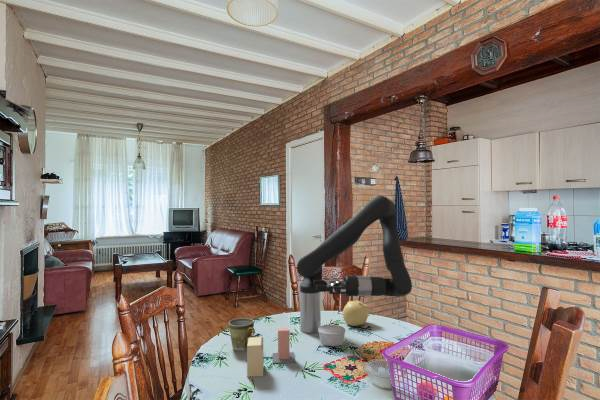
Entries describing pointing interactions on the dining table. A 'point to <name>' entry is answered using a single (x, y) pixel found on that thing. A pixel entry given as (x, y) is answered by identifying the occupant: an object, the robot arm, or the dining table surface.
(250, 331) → the ceramic cup
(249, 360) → the block
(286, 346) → the stub
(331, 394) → the dining table surface
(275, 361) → the felt pad
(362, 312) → the round fruit
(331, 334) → the ramekin
